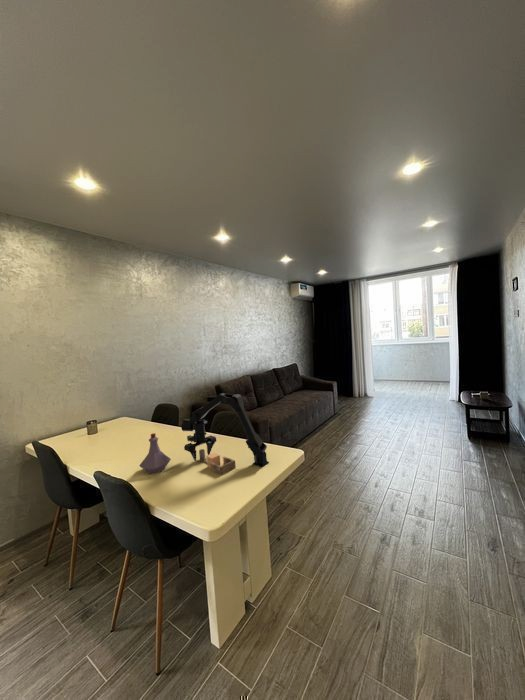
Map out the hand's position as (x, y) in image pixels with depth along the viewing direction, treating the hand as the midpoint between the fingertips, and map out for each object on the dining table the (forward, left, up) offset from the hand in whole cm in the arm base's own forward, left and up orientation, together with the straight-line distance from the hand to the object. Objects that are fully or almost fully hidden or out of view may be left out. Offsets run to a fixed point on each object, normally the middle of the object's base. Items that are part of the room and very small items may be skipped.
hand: (202, 457), depth 155 cm
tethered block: (-7, 0, -2) cm, 7 cm away
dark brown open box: (-19, 0, -2) cm, 19 cm away
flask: (+12, +22, -2) cm, 25 cm away
